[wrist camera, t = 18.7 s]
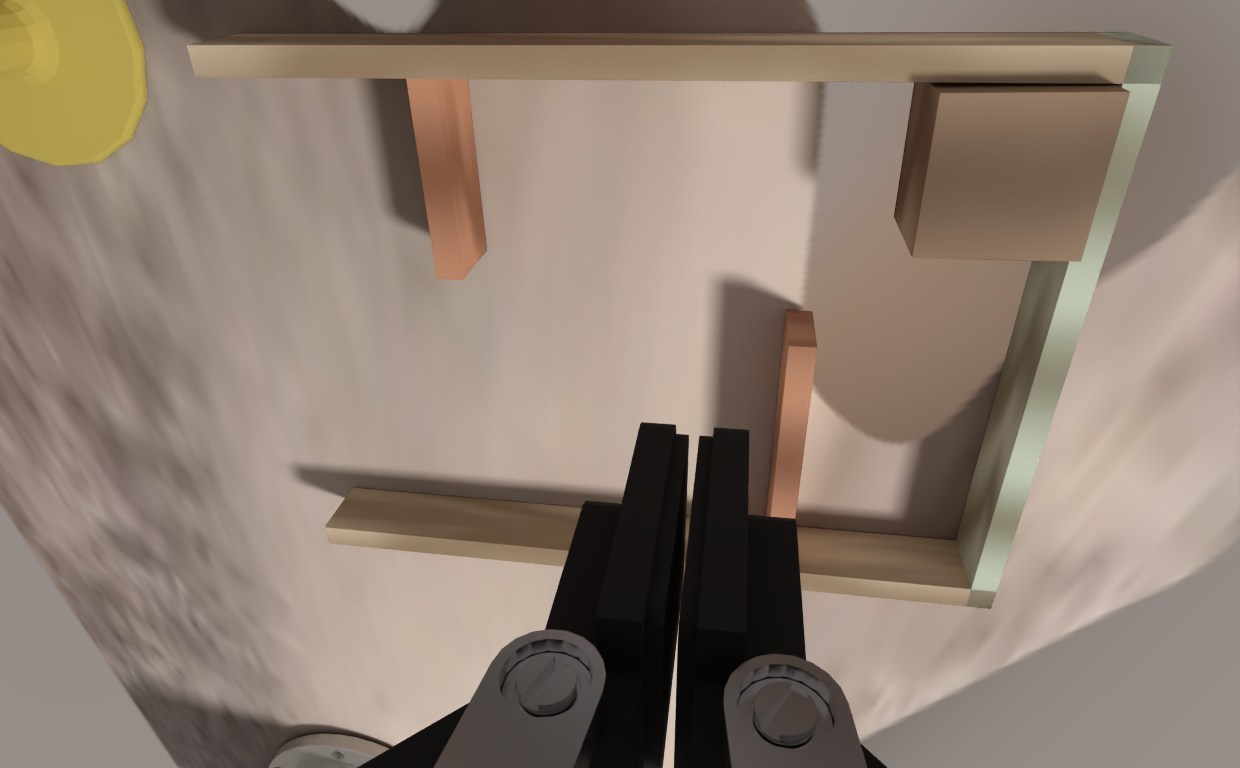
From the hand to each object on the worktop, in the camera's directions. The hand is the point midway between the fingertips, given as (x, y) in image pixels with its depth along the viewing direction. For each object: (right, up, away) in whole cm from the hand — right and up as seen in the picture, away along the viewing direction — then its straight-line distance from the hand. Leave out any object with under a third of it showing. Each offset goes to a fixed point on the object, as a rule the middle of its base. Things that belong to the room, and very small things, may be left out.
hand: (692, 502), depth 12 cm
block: (+11, +10, +14) cm, 21 cm away
